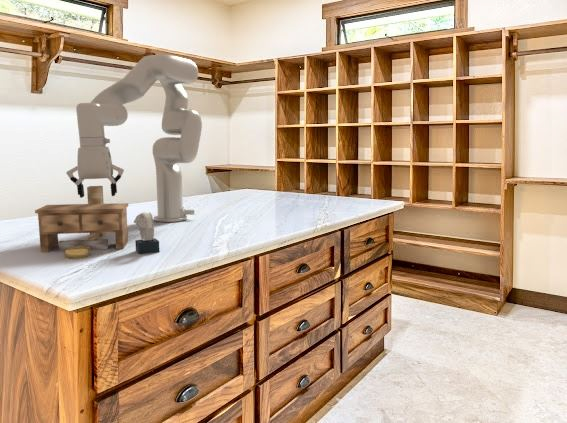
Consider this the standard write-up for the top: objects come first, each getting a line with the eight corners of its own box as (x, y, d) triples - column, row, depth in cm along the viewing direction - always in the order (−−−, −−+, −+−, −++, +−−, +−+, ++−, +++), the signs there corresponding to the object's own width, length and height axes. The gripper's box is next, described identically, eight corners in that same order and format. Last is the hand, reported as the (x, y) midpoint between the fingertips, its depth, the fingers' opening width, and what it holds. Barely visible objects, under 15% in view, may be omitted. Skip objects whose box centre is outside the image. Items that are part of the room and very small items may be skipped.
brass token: (92, 253, 131) (91, 245, 131) (86, 259, 125) (86, 250, 125) (69, 254, 130) (68, 246, 130) (62, 260, 124) (62, 251, 124)
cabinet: (129, 241, 146) (128, 203, 145) (124, 249, 135) (122, 208, 133) (50, 243, 142) (47, 204, 140) (37, 253, 131) (34, 210, 129)
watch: (153, 247, 138) (152, 210, 137) (161, 253, 131) (159, 214, 130) (133, 249, 135) (132, 211, 134) (140, 255, 129) (138, 215, 127)
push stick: (119, 233, 158) (117, 185, 155) (107, 249, 136) (104, 193, 133) (77, 234, 155) (74, 186, 153) (59, 250, 133) (55, 194, 131)
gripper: (122, 141, 155) (127, 193, 159) (66, 143, 152) (72, 195, 155) (119, 142, 148) (124, 196, 151) (60, 144, 145) (66, 199, 148)
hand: (98, 196), depth 153 cm, fingers open, 9 cm apart
